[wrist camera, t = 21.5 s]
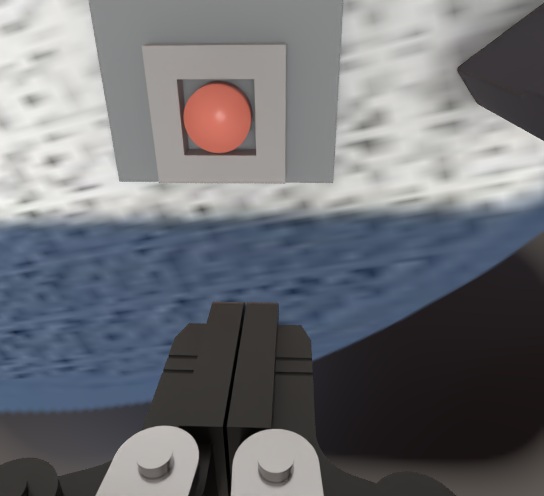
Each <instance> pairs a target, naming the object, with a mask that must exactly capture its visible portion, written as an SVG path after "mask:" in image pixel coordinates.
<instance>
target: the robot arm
mask: <svg viewBox="0 0 544 496" xmlns="http://www.w3.org/2000/svg"><path fill="white" fill-rule="evenodd" d="M312 374H313V373H312V351H311V340H310V338H309V337H308V335H307V334H306V332H305V331H304V329H303V328H302V326H301V325H279V306H278V303H258V302H247V304H246V305H245V302H213V303H212V306H211V309H210V313H209V317H208V320H207V324H194V323H189V324H188V325H187V326H186V327H185V328H184V329H183V330H182V331H181V332H180V333H179V334H178V335H177V336H176V337H175V339H174V342H173V344H172V347H171V350H170V353H169V358H167V361H166V364H165V367H164V372H163V373H162V375H161V378H160V381H159V384H158V386H157V389H156V392H155V395H154V398H153V400H152V403H151V406H150V409H149V412H148V414H147V417H146V420H145V423H144V426H143V428H142V431H140V432H139V433H137V434H135V435H133V436H132V437H131V438H129V439H128V440H127V441H126V442H125V443H124V444H123V445H122V446H121V447H120V448H119V450H118V452H117V453H116V455H115V457H114V459H113V460H111V461H109V462H107V463H105V464H103V465H100V466H96V467H93V468H90V469H86V470H82V471H78V472H74V473H70V474H66V475H63V476H57V473H56V471H55V469H54V468H53V466H51V465H50V464H49V463H48V462H46V461H44V460H41V459H38V458H22V459H16V460H13V461H10V462H7V463H4V464H2V465H0V496H456V495H455V494H454V493H453V492H452V491H450V490H449V489H448V488H446V486H444V485H443V484H442V483H440V482H439V481H437V480H435V479H433V478H431V477H429V476H427V475H424V474H420V473H417V472H408V471H405V472H396V473H392V474H390V475H387V476H386V477H384V478H382V479H381V480H380V481H379V482H378V483H374V482H371V481H368V480H365V479H362V478H359V477H356V476H353V475H351V474H349V473H346V472H344V471H342V470H341V469H339V468H337V467H336V466H335V465H334V464H332V463H331V462H330V461H329V460H328V459H327V458H326V457H325V455H324V454H323V453H322V451H321V450H320V447H319V445H318V443H317V440H316V433H315V415H314V393H313V375H312Z"/></svg>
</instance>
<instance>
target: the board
mask: <svg viewBox="0 0 544 496" xmlns="http://www.w3.org/2000/svg"><path fill="white" fill-rule="evenodd" d="M89 6H90V11H91V17H92V23H93V29H94V35H95V41H96V47H97V52H98V58H99V64H100V70H101V76H102V82H103V88H104V94H105V99H106V105H107V111H108V117H109V123H110V129H111V135H112V140H113V146H114V152H115V158H116V164H117V170H118V176H119V181H122V182H159V183H285V182H300V183H333V175H334V156H335V138H336V119H337V101H338V82H339V64H340V45H341V27H342V8H343V0H89ZM212 81H227V82H230V83H233V84H235V85H236V86H238V87H239V88H240V89H241V90H243V92H244V93H245V94H246V95H247V97H248V99H249V101H250V103H251V106H252V112H253V118H252V123H251V126H250V129H249V132H248V135H247V137H246V138H245V140H244V141H243V142H242V144H241V145H239V146H238V147H237V148H235V149H234V150H232V151H229V152H225V153H213V152H209V151H206V150H204V149H202V148H200V147H199V146H198V145H196V144H195V143H194V142H193V141H192V139H191V138H190V137H189V135H188V133H187V131H186V129H185V125H184V109H185V106H186V103H187V101H188V100H189V98H190V97H191V96H192V95H193V94H194V93H195V92H196V91H197V90H198V89H199V88H200V87H201V86H203V85H204V84H206V83H209V82H212Z"/></svg>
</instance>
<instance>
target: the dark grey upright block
mask: <svg viewBox="0 0 544 496" xmlns="http://www.w3.org/2000/svg"><path fill="white" fill-rule="evenodd" d="M458 72H459V74H460V76H461V77H462V79H463V81H464V82H465V84H466V86H467V87H468V89H469V91H470V92H471V94H472V95H473V97H474V99H475V100H476V102H477V103H478V104H479V105H481V106H483V107H484V108H486V109H488V110H490V111H491V112H493V113H495V114H497V115H499V116H500V117H502V118H504V119H506V120H508V121H509V122H511V123H513V124H515V125H516V126H518V127H520V128H522V129H524V130H525V131H527V132H529V133H531V134H532V135H534V136H536V137H538V138H540V139H541V140H543V141H544V3H543V4H542V5H541V6H539V7H538V8H537V9H535V10H534V11H533V12H531V13H530V14H529V15H527V16H526V17H525V18H523V19H522V20H521V21H519V22H518V23H517V24H515V25H514V26H513V27H511V28H510V29H509V30H507V31H506V32H505V33H503V34H502V35H501V36H499V37H498V38H497V39H495V40H494V41H493V42H491V43H490V44H489V45H487V46H486V47H485V48H483V49H482V50H481V51H479V52H478V53H477V54H475V55H474V56H473V57H471V58H470V59H468V60H467V61H466V62H464V63H463V64H462V65H461V66H460V67H459V68H458Z"/></svg>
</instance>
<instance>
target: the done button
mask: <svg viewBox="0 0 544 496" xmlns="http://www.w3.org/2000/svg"><path fill="white" fill-rule="evenodd" d="M252 118H253V112H252V106H251V103H250V101H249V99H248V97H247V95H246V94H245V93H244V92H243V90H241V89H240V88H239V87H238V86H236V85H235V84H233V83H230V82H227V81H212V82H209V83H206V84H204V85H203V86H201V87H200V88H199V89H198V90H197V91H196V92H195V93H194V94H193V95H192V96H191V97H190V98H189V100H188V101H187V103H186V106H185V109H184V125H185V129H186V131H187V133H188V135H189V137H190V138H191V139H192V141H193V142H194V143H195V144H196V145H198V146H199V147H200V148H202V149H204V150H206V151H209V152H213V153H225V152H229V151H232V150H234V149H235V148H237V147H238V146H239V145H241V144H242V142H243V141H244V140H245V138H246V137H247V135H248V132H249V129H250V126H251V123H252Z"/></svg>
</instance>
